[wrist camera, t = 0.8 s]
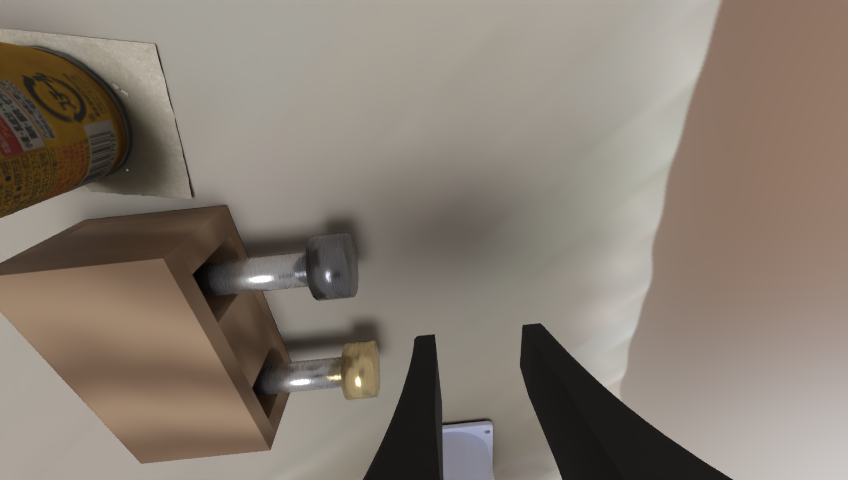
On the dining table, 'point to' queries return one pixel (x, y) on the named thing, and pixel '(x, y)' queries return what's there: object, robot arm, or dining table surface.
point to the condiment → (84, 120)
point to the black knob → (288, 271)
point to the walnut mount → (151, 331)
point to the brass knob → (326, 373)
